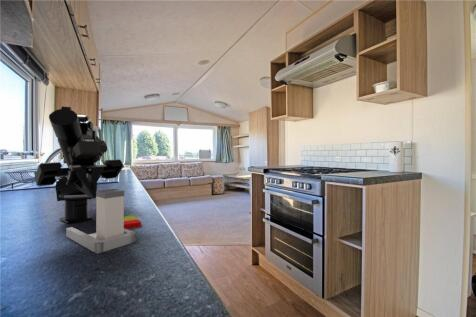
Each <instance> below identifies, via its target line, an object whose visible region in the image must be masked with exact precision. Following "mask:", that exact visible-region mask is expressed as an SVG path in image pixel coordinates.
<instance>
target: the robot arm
mask: <svg viewBox="0 0 476 317" xmlns="http://www.w3.org/2000/svg"><path fill="white" fill-rule="evenodd" d="M72 109H73V108H72V106H61V108H60V109H55V110H54V111H52V112H51V113H49V114H48V119H49V122H50V124H51V127H52V130H53V131H54V132H53V133H54V134H55V137H56V139H57V143H58V145H59V147H60V150H61V152H62V156H63V160H62V162H63V164H64V165H65V164H66V166H67V167H63V164H62V162H59V161H57V162H56V161H55V162H54V161H53V162H40V163H39V165H37V169H36V172H35V175H34V180H35V184H36V186H38V187H46V186H53V185H55V193H56V202H62V201H63V202H64V217H59V220H60V221H61V222H64V223H66V224H72V223H73V224H74V223H78V222H82V221H83V222H84V221H88V220H93V218H94V217H93V216H90V215H89V214H88V213H89V200H93V199H96V191H98V181H99V179H100V178H103V179H105V180H108V179H110V180H111V179H115V178H117V177H119V175H120V173H121V171H122V169H123V168H124V164H123V161H122V160H121V159H106V160H105V161H104V163H103V164H96V163H97V162H100V160H101V159H102V157H104V154H105V153H106V152H108V146H107V143H106V141H105V140H101V138H100V136H98V135H97V129H94V123H93V122H92V119H90V117H89V116H88V115H82V114H81V115H80V114H79V115H78V114H77V112H76V111H74V110H72ZM95 164H96V165H95ZM56 178H58V179H56Z"/></svg>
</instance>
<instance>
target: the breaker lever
mask: <svg viewBox="0 0 476 317" xmlns="http://www.w3.org/2000/svg"><path fill="white" fill-rule="evenodd" d="M95 200H96V219H95V220H96V223H95V224H96V226H95V228H96V229H95V230H96V232H95V233H96V239H98V240H100V241H102V240H106V239H109V238H113V237H117V236H120V235H124V214H125V208H124V207H125V190H123V189H118V188H117V189H116V188H113V189H112V188H111V189H101V190H97V191H96V198H95Z"/></svg>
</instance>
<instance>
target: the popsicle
mask: <svg viewBox="0 0 476 317" xmlns="http://www.w3.org/2000/svg"><path fill="white" fill-rule="evenodd" d="M140 227H142V222H141V220H140V219H139V218H137V217H136V216H135V215H133V214H132V215H125V216H124V228H125V229H127V230H131V229H136V228H140Z"/></svg>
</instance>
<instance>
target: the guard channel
mask: <svg viewBox="0 0 476 317" xmlns="http://www.w3.org/2000/svg"><path fill="white" fill-rule="evenodd" d="M65 233H66V234H65V235H66V238H69V239H70V240H72V241H74V242H76V243H77V244H79V245H80V246H82V247H84V248H86V249H88V250H89V251H91V252H93V253H95V254H97V255H98V254H101V253H104V252H108V251H111V250H113V249H117V248H120V247H124V246H126V245H127V246H128V245H130V244H133V243H136V242H137V232H135V231H132V230H131V229H125V228H124V235H120V236H117V237H113V238H109V239H106V240H102V241H100V240H98V239H96V232H93V233H90V234H88V233H85V232H84V231H81V230H79V229H77V228H75V227H73V226H70V227H66V229H65Z"/></svg>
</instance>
